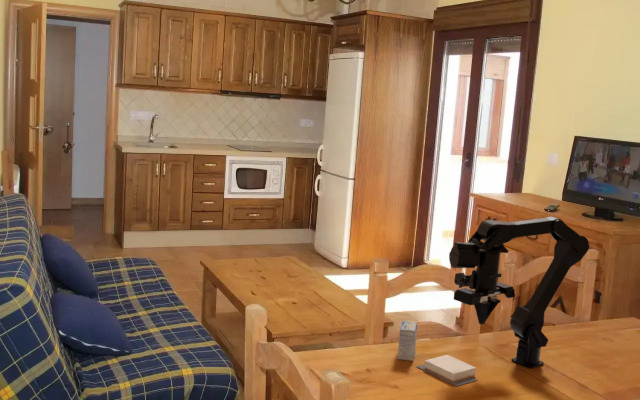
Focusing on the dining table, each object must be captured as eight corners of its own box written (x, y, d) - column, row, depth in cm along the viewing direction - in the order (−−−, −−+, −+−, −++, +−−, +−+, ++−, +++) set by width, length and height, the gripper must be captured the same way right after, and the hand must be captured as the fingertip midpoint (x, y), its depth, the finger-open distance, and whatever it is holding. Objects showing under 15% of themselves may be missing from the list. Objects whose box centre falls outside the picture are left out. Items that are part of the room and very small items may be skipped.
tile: (447, 354, 187) (425, 360, 181) (475, 367, 179) (453, 373, 174) (446, 362, 187) (424, 368, 182) (475, 375, 179) (453, 382, 174)
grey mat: (437, 361, 188) (437, 360, 188) (477, 380, 177) (477, 379, 177) (416, 367, 183) (416, 366, 183) (456, 386, 172) (456, 385, 172)
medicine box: (413, 361, 186) (416, 331, 185) (397, 359, 187) (399, 329, 186) (415, 351, 194) (417, 322, 193) (399, 349, 195) (402, 320, 194)
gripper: (486, 258, 195) (480, 310, 197) (441, 264, 184) (435, 319, 186) (518, 267, 186) (512, 322, 189) (473, 274, 175) (467, 332, 177)
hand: (481, 323), depth 185 cm, fingers closed
